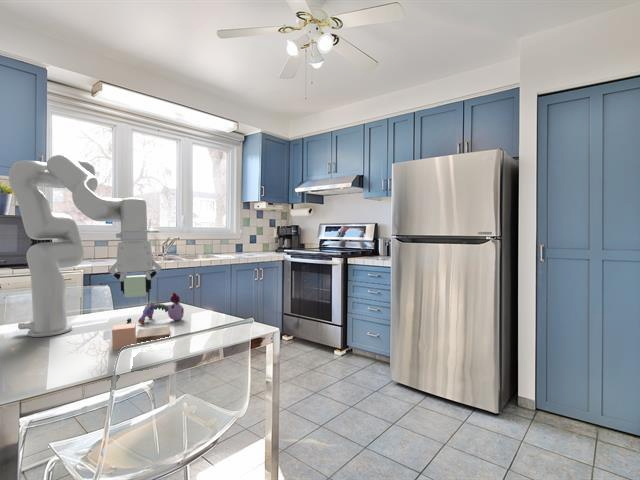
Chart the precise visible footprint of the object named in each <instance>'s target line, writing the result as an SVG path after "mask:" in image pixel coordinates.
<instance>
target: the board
mask: <svg viewBox="0 0 640 480" xmlns="http://www.w3.org/2000/svg"><path fill="white" fill-rule="evenodd" d="M169 336H170V337H171V327H170V326H162V327H161V326H160V327H152V328H151V327H150V328H141V329H138V330H137V332H136V343H143V342H150V340H152V341H157V340H156V339H160V338H165V337H169Z"/></svg>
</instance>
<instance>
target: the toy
mask: <svg viewBox="0 0 640 480" xmlns="http://www.w3.org/2000/svg"><path fill="white" fill-rule="evenodd" d="M169 300H170V301H171V303H172V304H168V305H167V304H164V303H154V302H150V303H148V304H146V306H145V307H144V309H143V310H142V315H141V317H139V319H138V323H139V325H144V324H145V321H146V318H147V319H153V316H154V313H155V311H157V310H162V311H164V312H165V313H167V315H168V317H169V318H170V319H171V320H173V321H176V322H178V321H181V320H182V319H183V318H184V313H185V312H184V309H185V308H184V307H183V305H182V304H181V303H180V302H181V301H180V296H179V295H178V294H177V293H176V292H173V293H172V296H171V297H170V299H169Z"/></svg>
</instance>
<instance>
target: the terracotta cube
mask: <svg viewBox="0 0 640 480" xmlns="http://www.w3.org/2000/svg"><path fill="white" fill-rule="evenodd" d="M136 329H137V328H136V323H135V322H131V323H130V324H126V323H123V324H121V323H120V324H114V325H113V327H112V329H111V337H112V338H111V339H112V342H111V343H112V350H119V349H123V348H122V347H124V346H127V345H131V344H135V345H136V343H137V342H136V336H137V330H136Z"/></svg>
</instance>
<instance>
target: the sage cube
mask: <svg viewBox="0 0 640 480" xmlns="http://www.w3.org/2000/svg"><path fill="white" fill-rule="evenodd" d="M146 278H147V277H146V275H145V274H142V275H141V274H140V275H138V274H137V275H126V277H125V278H124V294H123V295H124V296H123V297H124V298H136V297H137V298H139V297H146V296H147V294H148V292H146Z"/></svg>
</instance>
